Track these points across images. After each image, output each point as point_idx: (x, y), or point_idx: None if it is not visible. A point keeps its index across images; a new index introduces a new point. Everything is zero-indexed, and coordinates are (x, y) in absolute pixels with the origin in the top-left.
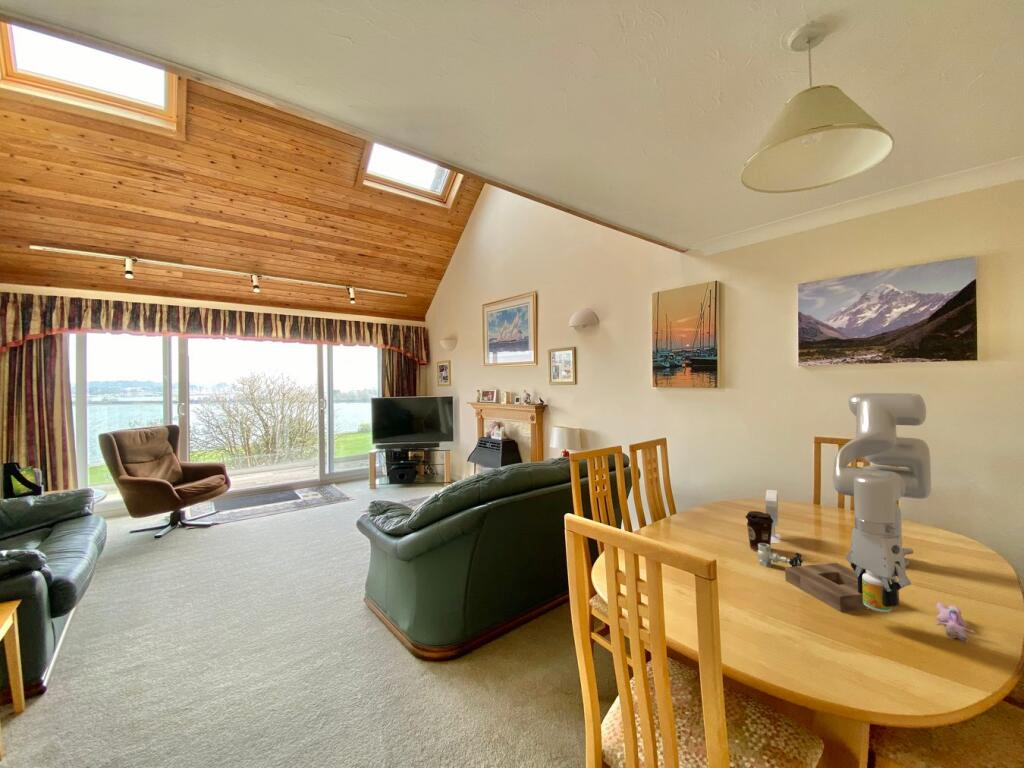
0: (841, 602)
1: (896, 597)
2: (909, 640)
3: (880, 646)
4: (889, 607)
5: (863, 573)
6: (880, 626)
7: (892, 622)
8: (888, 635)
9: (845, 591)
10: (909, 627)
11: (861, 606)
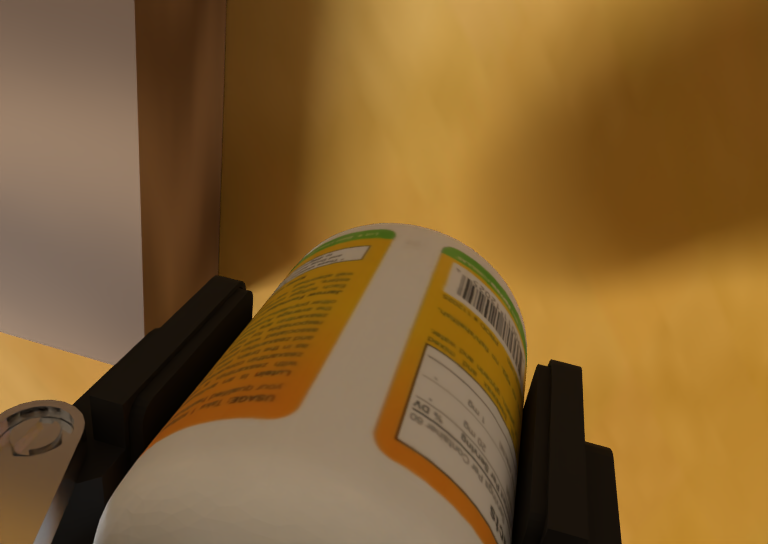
0: None
1: (616, 514)
2: (696, 289)
3: (621, 534)
4: (525, 380)
5: (63, 524)
6: None
7: (465, 87)
8: (571, 350)
9: (66, 224)
10: (588, 31)
11: (209, 110)
